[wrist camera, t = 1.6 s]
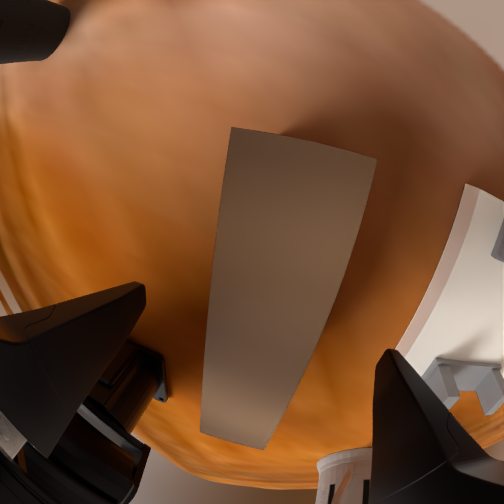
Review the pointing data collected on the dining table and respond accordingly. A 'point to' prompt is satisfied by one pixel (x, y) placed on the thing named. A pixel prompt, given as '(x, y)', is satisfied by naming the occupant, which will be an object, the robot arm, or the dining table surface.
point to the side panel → (464, 309)
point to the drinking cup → (30, 29)
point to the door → (275, 274)
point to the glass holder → (345, 477)
